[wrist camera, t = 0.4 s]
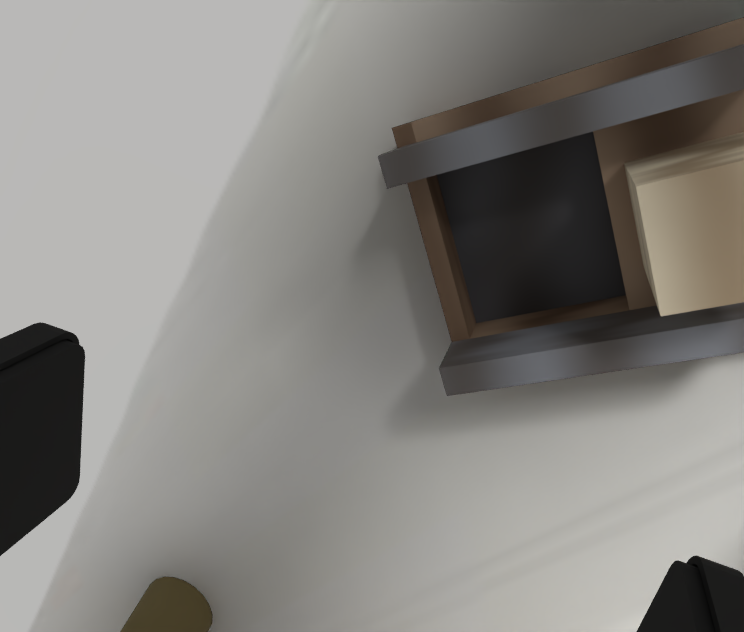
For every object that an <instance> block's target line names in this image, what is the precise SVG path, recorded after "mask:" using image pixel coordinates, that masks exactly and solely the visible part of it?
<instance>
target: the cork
mask: <svg viewBox="0 0 744 632" xmlns="http://www.w3.org/2000/svg"><path fill="white" fill-rule="evenodd" d="M211 624H212V612H211V609H210V606H209V604H208V602H207V601H206V599H205V598H204V596H203V595H202V594H201V593H200V592H199V591H198V590H197V589H196V588H195V587H194V586H192V585H190V584H189V583H187V582H185V581H183V580H180V579H177V578H174V577H162V578H159V579H156V580H155V581H154V582H152V583H151V584H150V586H149V587H148V589H147V590H146V592H145V594H144V595H143V597H142V598H141V600H140V601H139V603H138V605H137V606H136V608H135V609H134V611H133V613H132V614H131V616H130V617H129V619H128V621H127V622H126V624H125V625H124V627H123V628H122V630H121V632H207V631H208V630H209V628H210V626H211Z"/></svg>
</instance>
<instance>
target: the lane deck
mask: <svg viewBox="0 0 744 632" xmlns="http://www.w3.org/2000/svg"><path fill="white" fill-rule="evenodd" d="M392 130H393V134H394V137H395V141H396V144H397V149H394V150H392V151H389V152H387V153H384V154H381V155H379V156H378V159H379V162H380V165H381V169H382V172H383V176H384V179H385V183H386V186H387V189H388V188H391V187H395V186H399V185H402V184H406V183H407V184H408V187H409V191H410V194H411V198H412V202H413V205H414V209H415V212H416V216H417V219H418V223H419V227H420V230H421V234H422V237H423V241H424V244H425V248H426V252H427V255H428V259H429V262H430V266H431V269H432V273H433V277H434V280H435V284H436V287H437V291H438V294H439V298H440V302H441V305H442V309H443V312H444V316H445V319H446V323H447V327H448V330H449V334H450V337H451V341H452V343H451V345H450V347H449V349H448V351H447V353H446V355H445V357H444V359H443V361H442V363H441V366H440V368H439V370H440V373H441V377H442V380H443V384H444V387H445V391H446V394H447V396H450V395H457V394H464V393H470V392H477V391H484V390H491V389H498V388H504V387H511V386H518V385H525V384H532V383H538V382H545V381H552V380H559V379H565V378H572V377H579V376H586V375H593V374H599V373H606V372H613V371H620V370H627V369H633V368H640V367H647V366H654V365H661V364H667V363H674V362H681V361H688V360H695V359H701V358H708V357H715V356H722V355H729V354H735V353H742V352H744V302H742V303H736V304H730V305H725V306H719V307H713V308H707V309H701V310H696V311H690V312H684V313H678V314H672V315H667V316H660V313H659V310H658V307H657V304H656V301H655V298H654V295H653V293H652V290H651V287H650V284H649V281H648V278H647V275H646V272H645V269H644V265H643V260H642V255H641V250H640V244H639V239H638V234H637V229H636V224H635V218H634V213H633V208H632V203H631V198H630V192H629V187H628V182H627V177H626V172H625V166H624V163H625V162H629V161H633V160H637V159H641V158H645V157H649V156H653V155H656V154H660V153H664V152H668V151H672V150H676V149H680V148H684V147H688V146H691V145H695V144H699V143H703V142H707V141H711V140H715V139H719V138H723V137H726V136H730V135H734V134H738V133H742V132H744V17H743V18H740V19H737V20H734V21H730V22H727V23H724V24H721V25H718V26H715V27H711V28H708V29H705V30H702V31H699V32H695V33H692V34H689V35H686V36H683V37H680V38H676V39H673V40H670V41H667V42H664V43H661V44H657V45H654V46H651V47H648V48H645V49H641V50H638V51H635V52H632V53H629V54H626V55H622V56H619V57H616V58H613V59H610V60H607V61H603V62H600V63H597V64H594V65H591V66H587V67H584V68H581V69H578V70H575V71H572V72H568V73H565V74H562V75H559V76H556V77H552V78H549V79H546V80H543V81H540V82H537V83H533V84H530V85H527V86H524V87H521V88H518V89H514V90H511V91H508V92H505V93H502V94H498V95H495V96H492V97H489V98H486V99H483V100H479V101H476V102H473V103H470V104H467V105H464V106H460V107H457V108H454V109H451V110H448V111H444V112H441V113H438V114H435V115H432V116H429V117H425V118H422V119H419V120H416V121H413V122H410V123H406V124H403V125H400V126H397V127H394V128H392Z"/></svg>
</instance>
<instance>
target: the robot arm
mask: <svg viewBox="0 0 744 632" xmlns="http://www.w3.org/2000/svg"><path fill="white" fill-rule="evenodd" d="M84 365H85V352H84V349H83V347H81V346H80V345H79V340H78V338H77V336H76V335H74V334H73V333H71V332H68V331H65V330H63V329H60V328H57V327H54V326H51V325H48V324H46V323H36V324H33V325H31V326H28V327H26V328H24V329H22V330H19V331H17V332H15V333H13V334H10V335H8V336H6V337H3V338H1V339H0V556H1V555H2V554H3V553H4V552H6V551H7V550H8V549H9V548H11V547H12V546H13V545H14V544H15V543H16V542H18V541H19V540H20V539H22V538H23V537H24V536H25V535H26V534H28V533H29V532H30V531H31V530H33V529H34V528H35V527H36V526H37V525H39V524H40V523H41V522H42V521H44V520H45V519H46V518H47V517H48V516H49V515H51V514H52V513H53V512H55V511H56V510H57V509H58V508H59V507H60V506H62V505H63V504H64V503H65V502H66V501H67V500H69V499H70V498H71V496H72V495H73V494H74V492H75V490H76V488H77V486H78V483H79V478H80V458H81V435H82V433H81V432H82V412H83V388H84ZM637 632H744V576H743V574H742V573H741V572H740V571H738V570H735V569H733V568H730V567H727V566H724V565H721V564H719V563H716V562H713V561H710V560H707V559H705V558H702V557H699V556H693V557H692V558H690V559H689V560H688V562H687V563H684V562H681V561H675V562H674V563H673V564H672V565H671V567H670V568H669V570H668V572H667V574H666V576H665V578H664V580H663V582H662V584H661V586H660V588H659V590H658V591H657V593H656V595H655V597H654V599H653V601H652V603H651V605H650V607H649V609H648V611H647V613H646V615H645V617H644V618H643V620H642V622H641V624H640V626H639V628H638V630H637Z"/></svg>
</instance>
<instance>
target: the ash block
mask: <svg viewBox="0 0 744 632" xmlns="http://www.w3.org/2000/svg"><path fill="white" fill-rule="evenodd" d="M624 166H625V172H626V177H627V182H628V187H629V192H630V198H631V203H632V208H633V213H634V218H635V224H636V229H637V234H638V239H639V244H640V250H641V255H642V260H643V265H644V269H645V272H646V275H647V278H648V281H649V284H650V287H651V290H652V293H653V295H654V298H655V301H656V304H657V307H658V310H659V313H660V316H667V315H672V314H678V313H684V312H690V311H696V310H701V309H707V308H713V307H719V306H725V305H730V304H736V303H742V302H744V132H742V133H738V134H734V135H730V136H726V137H723V138H719V139H715V140H711V141H707V142H703V143H699V144H695V145H691V146H688V147H684V148H680V149H676V150H672V151H668V152H664V153H660V154H656V155H653V156H649V157H645V158H641V159H637V160H633V161H629V162H625V163H624Z"/></svg>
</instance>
